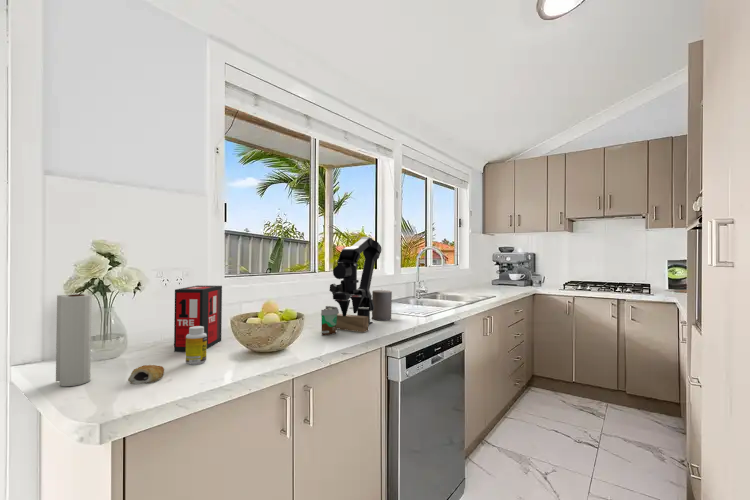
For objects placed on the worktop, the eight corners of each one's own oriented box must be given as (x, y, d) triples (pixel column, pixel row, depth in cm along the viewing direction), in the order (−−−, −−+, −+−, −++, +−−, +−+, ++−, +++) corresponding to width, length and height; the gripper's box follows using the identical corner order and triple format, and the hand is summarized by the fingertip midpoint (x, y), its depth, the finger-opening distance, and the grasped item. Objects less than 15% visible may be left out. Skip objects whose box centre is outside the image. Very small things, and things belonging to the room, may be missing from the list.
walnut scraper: (336, 327, 174) (336, 313, 174) (368, 331, 166) (368, 316, 166) (331, 328, 170) (331, 314, 170) (363, 332, 163) (363, 317, 163)
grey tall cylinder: (93, 382, 97) (94, 294, 97) (62, 389, 93) (63, 296, 93) (85, 376, 102) (86, 292, 102) (55, 382, 97) (57, 294, 98)
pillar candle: (367, 318, 195) (368, 288, 195) (380, 316, 203) (380, 287, 203) (383, 321, 189) (383, 289, 189) (395, 318, 197) (396, 288, 197)
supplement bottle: (204, 364, 114) (205, 328, 114) (183, 365, 112) (184, 329, 113) (207, 359, 119) (208, 325, 119) (187, 360, 118) (188, 325, 118)
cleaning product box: (196, 340, 144) (197, 285, 145) (221, 340, 144) (222, 285, 145) (174, 351, 128) (174, 289, 128) (201, 352, 128) (202, 289, 128)
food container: (336, 336, 154) (337, 310, 154) (321, 335, 154) (321, 310, 154) (340, 330, 167) (340, 306, 167) (325, 329, 167) (325, 305, 167)
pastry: (144, 373, 105) (144, 359, 105) (171, 373, 106) (171, 358, 106) (125, 385, 96) (126, 369, 96) (155, 385, 97) (155, 369, 97)
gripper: (344, 276, 180) (344, 310, 180) (321, 278, 163) (321, 316, 163) (366, 276, 176) (366, 312, 176) (345, 279, 159) (345, 318, 159)
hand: (349, 314), depth 168 cm, fingers open, 9 cm apart
